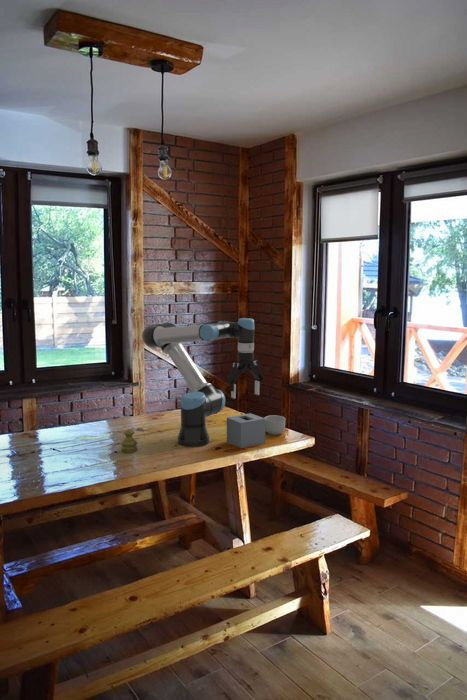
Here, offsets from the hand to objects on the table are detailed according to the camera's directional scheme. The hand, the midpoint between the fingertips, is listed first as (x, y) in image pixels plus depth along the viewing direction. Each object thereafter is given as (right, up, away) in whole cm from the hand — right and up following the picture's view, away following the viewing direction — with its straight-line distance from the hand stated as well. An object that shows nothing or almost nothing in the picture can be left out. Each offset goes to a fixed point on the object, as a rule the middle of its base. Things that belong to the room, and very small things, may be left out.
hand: (245, 396), depth 274 cm
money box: (0, -22, +3) cm, 23 cm away
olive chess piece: (-53, -24, -10) cm, 59 cm away
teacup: (+14, -20, +19) cm, 31 cm away
